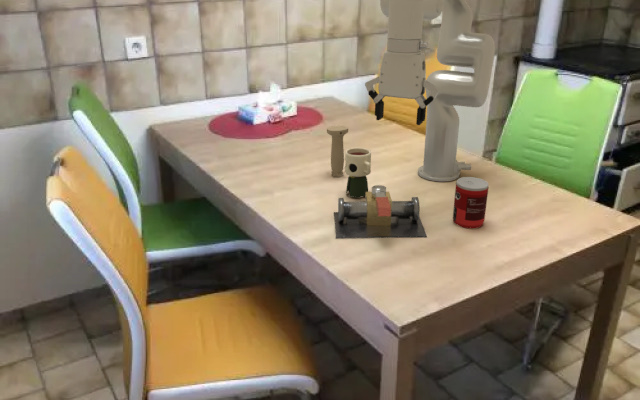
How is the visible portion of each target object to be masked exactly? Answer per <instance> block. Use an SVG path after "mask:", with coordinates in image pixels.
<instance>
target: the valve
mask: <svg viewBox="0 0 640 400" xmlns="http://www.w3.org/2000/svg"><path fill="white" fill-rule="evenodd" d="M371 192H372V191H368V192H366V195H365V197H364V198H365V200H364V201H361V200H359V201H358V200H356V201H347V200H346V201H344V197H338V199H337V200H338V201H337V211H335V212H333V218H334V229H335V239H390V238H391V239H397V238H398V239H399V238H402V239H406V238H409V239H411V238H428V236H427V233H426V230H425V227H424V225H423V223H422V219H421V217H420V209H421V207H420V199H419V197H418V196H412V197H411V200H392V197H391V194H390V193H391V192H390V191H386V197H388V200H389V203H390V207H391V213H390V216H378V213H377V209H376V200H375V198H374V197H372V196H371Z"/></svg>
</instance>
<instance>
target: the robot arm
mask: <svg viewBox="0 0 640 400" xmlns="http://www.w3.org/2000/svg"><path fill="white" fill-rule="evenodd" d="M379 6H380V10H381V12H382V14H383V15H384V16H385V17H387V18H388V19H387V20H388V22H387V36H386V37H387V40H386V41H387V42H386V50H385V51H384V52H383V54H382V58H381V59H382V60H381V63H380V64H381V65H380V69H379V76H377V77H374V78H373V79H372V78H371V79H370V80H368V81H366V82H365V83H364V86H365V89H366V90H367V93H368V96H370V98H371V99H372V101H373V103H374V106H375V107H374V116H375V117H376V118H375V120H376V121H380V120H381V119H383V118H384V113H385V112H384V109H385V101H383V100H384V98H385V97H391V98H397V99H409V100H415V101H416V103H417V105H418V107H417V110H416V122H415V123H416V126H420V125H421V124H423V122H425V121H426V124H425V125H426V126H425V137H424V138H425V139H424V150H423V152H424V153H423V165H420V166H419V167H418V169H417V175H418V176H420V177H421V178H423V179H424V180H429V181H433V182H440V183H441V182H452V181H455V180H457V179H459V177H460V174H461V170H464V171H471V170H472V164H471V163H466V162H465V161H457V152H458V151H457V150H458V142H459V141H458V139H459V131H460V130H459V129H460V116H459V113H458V111H457V110H456V108H455V106H457V107H458V106H459V107H467V108H480V107H482V106H484V105H485V103H486V102H487V98H488V94H489V88H490V82H491V77H492V72H493V66H494V59H495V53H496V52H495V51H496V49H495V48H496V45H495V44H496V43H495V41H494V38H493V37H492V36H491V35H490V34H487V33H483V32H482V33H481V32H480V33H478V32H472V25H473V19H474V14H473V11H472V9H471V7H470V5H469V4H468V3H467V1H466V0H380V1H379ZM441 14H442V15H441ZM440 15H441V23H440V29H439V34H438V42H437V49H436V60H437V62H439V63H440V64H441V65H444V66H450V67H457V68H468V69H473V71H474V72H467V71H459V70H449V69H439V70H434V71H432V72H431V73H430V74H428V76H427V70H426V56H425V52H423V51H422V50H424V49H425V50H426V49H428V47H429V45H428V44H429V43H428V42H427V41H423V40H424V39H423V37H422V36H423V24H424V21H431V20H435V19H437V18H438V17H439V16H440ZM377 84H378V88H377V89H378V92H377V91H376V90H375V88H374V85H377ZM424 94H425V95H426V97H425V96H424Z"/></svg>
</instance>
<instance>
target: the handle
mask: <svg viewBox="0 0 640 400" xmlns="http://www.w3.org/2000/svg"><path fill="white" fill-rule="evenodd" d="M348 133H349V127H348V126H346V125H332V126H328V127H326V134H327V135H329V136H331V149H330V153H331V154H330V167H331V168H330V169H331V175H332V177H334V178H335V177H336V178H340V177H342V176H343V173H344V167H345V165H344V164H345V152H344V151H345V149H344V136H345V135H346V134H348Z"/></svg>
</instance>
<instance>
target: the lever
mask: <svg viewBox="0 0 640 400" xmlns="http://www.w3.org/2000/svg"><path fill="white" fill-rule="evenodd" d="M370 192H371V196H372V197H374V198H375V200H376V209H377V213H378V216H390V213H391V207H390V203H389V200H388V197H386V192H387V187H386V186H384V185H380V184H379V185H375V184H374V185H373V186H371V191H370Z"/></svg>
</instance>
